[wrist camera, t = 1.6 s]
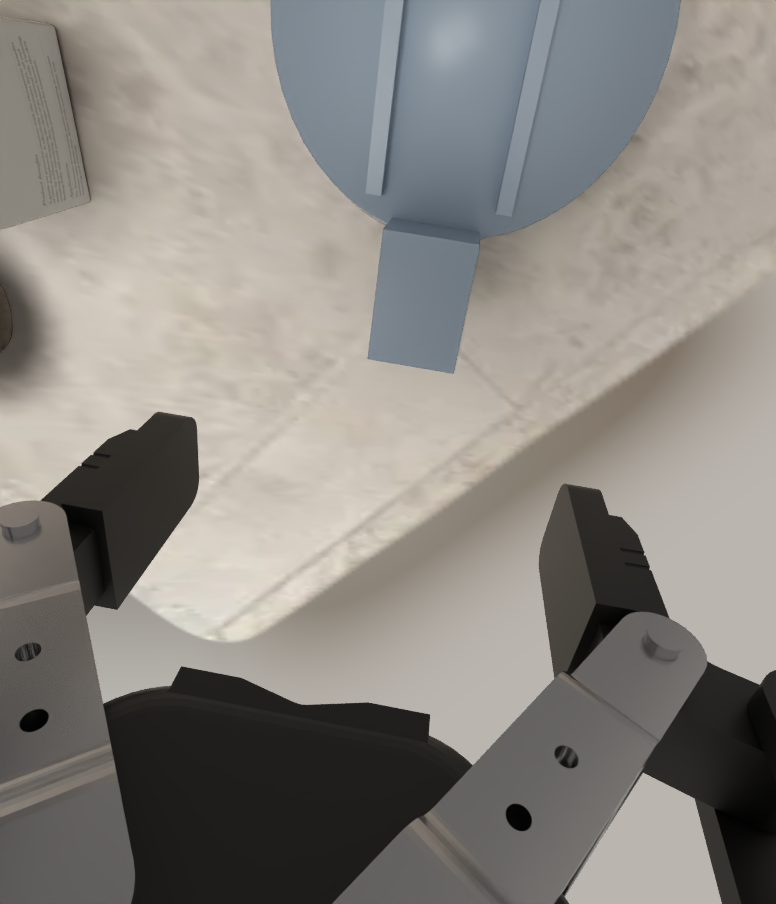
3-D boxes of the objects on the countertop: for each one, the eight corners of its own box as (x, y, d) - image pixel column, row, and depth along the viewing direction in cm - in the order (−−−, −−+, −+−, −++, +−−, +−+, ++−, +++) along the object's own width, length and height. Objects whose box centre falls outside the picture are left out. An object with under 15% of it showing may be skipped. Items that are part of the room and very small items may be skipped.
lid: (286, -276, 18) (248, -354, 15) (746, -217, 17) (803, -286, 14) (270, 312, 27) (244, 338, 24) (567, 362, 26) (579, 395, 23)
